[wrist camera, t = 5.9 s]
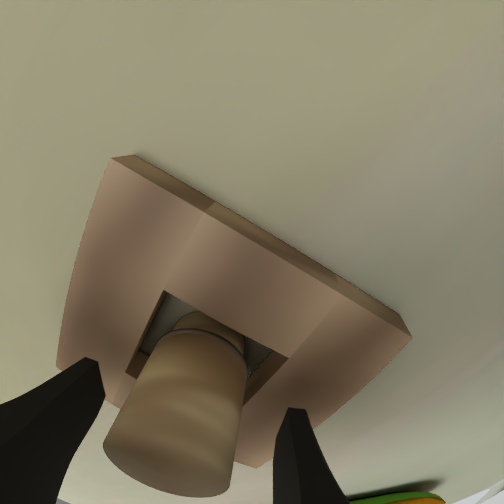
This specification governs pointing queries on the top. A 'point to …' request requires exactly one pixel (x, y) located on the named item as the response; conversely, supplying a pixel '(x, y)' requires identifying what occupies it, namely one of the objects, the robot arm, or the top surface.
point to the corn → (403, 499)
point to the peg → (184, 411)
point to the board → (218, 301)
